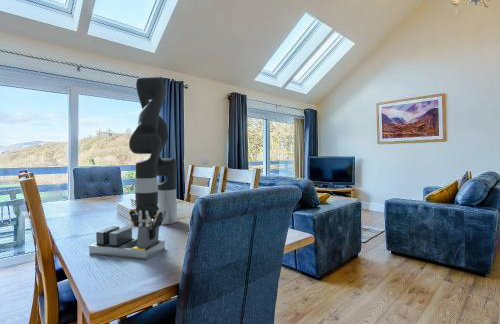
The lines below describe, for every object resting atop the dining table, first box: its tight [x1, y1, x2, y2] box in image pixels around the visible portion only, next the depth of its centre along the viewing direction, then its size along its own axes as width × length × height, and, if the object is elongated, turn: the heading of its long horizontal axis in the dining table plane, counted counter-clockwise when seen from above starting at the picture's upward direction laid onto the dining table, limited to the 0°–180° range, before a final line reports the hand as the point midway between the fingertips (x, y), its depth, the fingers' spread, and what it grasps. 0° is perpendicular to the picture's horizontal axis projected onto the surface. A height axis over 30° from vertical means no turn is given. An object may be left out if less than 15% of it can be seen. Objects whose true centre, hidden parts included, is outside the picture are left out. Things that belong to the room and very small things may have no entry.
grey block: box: [137, 224, 160, 248], centre depth 97 cm, size 8×3×7 cm, turn 165°
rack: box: [88, 225, 166, 261], centre depth 99 cm, size 23×11×8 cm, turn 75°
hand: (147, 238), depth 97 cm, fingers closed on grey block, 3 cm apart
